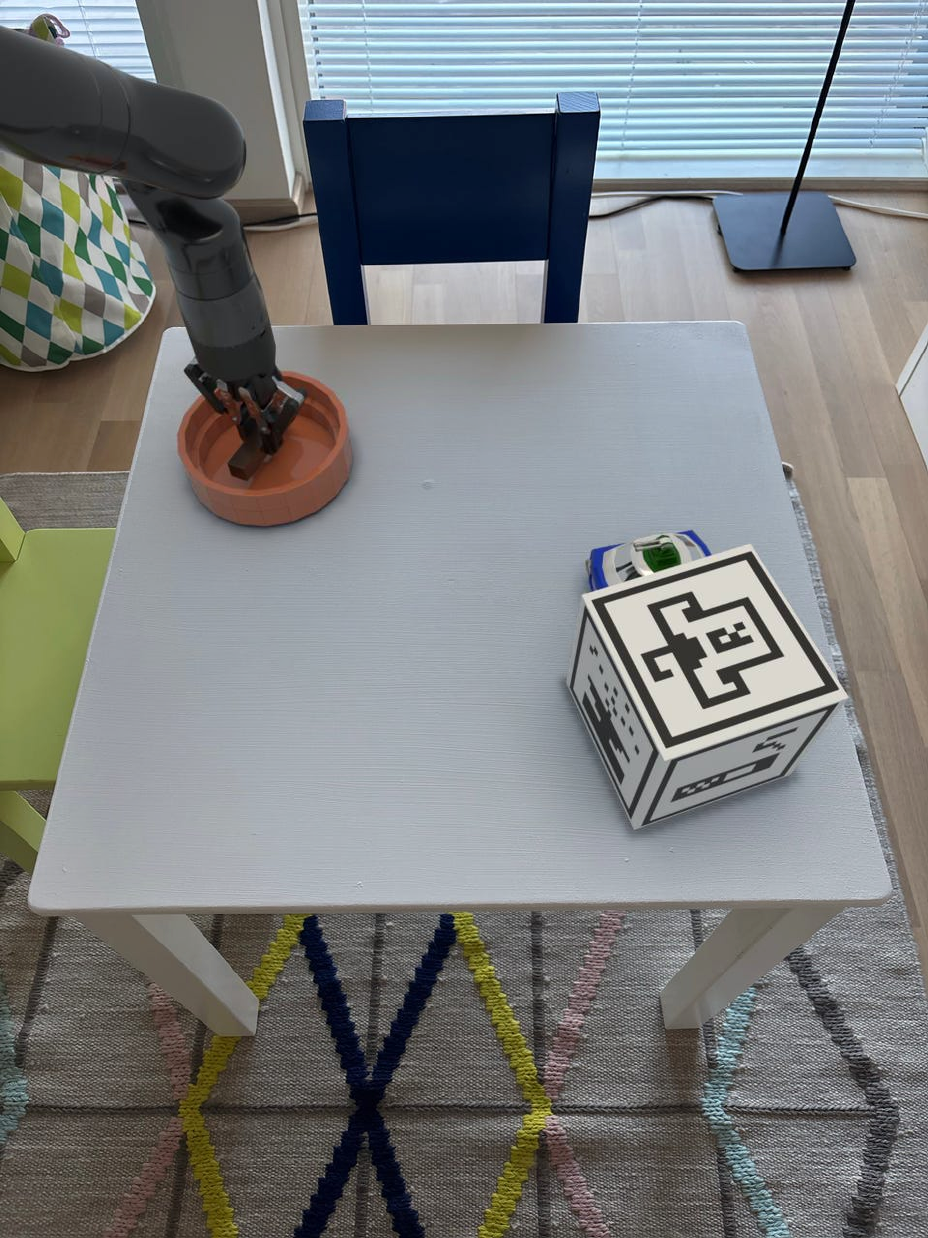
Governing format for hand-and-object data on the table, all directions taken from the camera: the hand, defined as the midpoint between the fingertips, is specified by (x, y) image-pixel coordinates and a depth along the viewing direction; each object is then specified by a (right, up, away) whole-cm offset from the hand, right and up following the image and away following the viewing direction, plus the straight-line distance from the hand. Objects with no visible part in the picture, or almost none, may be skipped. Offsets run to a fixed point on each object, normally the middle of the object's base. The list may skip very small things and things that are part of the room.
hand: (264, 445), depth 98 cm
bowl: (0, -2, +2) cm, 3 cm away
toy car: (+40, -17, -8) cm, 44 cm away
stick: (0, 0, 0) cm, 0 cm away
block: (+41, -29, -15) cm, 52 cm away
